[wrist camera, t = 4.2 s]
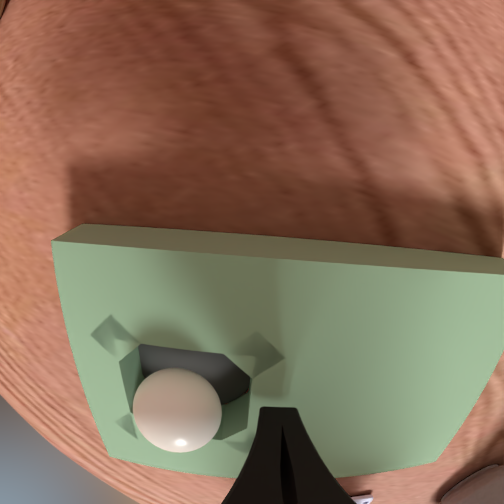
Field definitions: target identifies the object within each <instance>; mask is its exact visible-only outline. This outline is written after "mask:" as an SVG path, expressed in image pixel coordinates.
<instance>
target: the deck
mask: <svg viewBox="0 0 504 504" xmlns="http://www.w3.org/2000/svg"><path fill="white" fill-rule="evenodd" d="M51 245H52V253H53V260H54V267H55V274H56V280H57V286H58V291H59V297H60V302H61V307H62V312H63V316H64V321H65V325H66V329H67V334H68V338H69V342H70V345H71V349H72V353H73V357H74V360H75V364H76V367H77V370H78V374H79V377H80V380H81V383H82V386H83V389H84V392H85V395H86V398H87V401H88V404H89V407H90V409H91V412H92V415H93V418H94V420H95V423H96V425H97V428H98V430H99V433H100V435H101V438H102V440H103V442H104V445H105V447H106V449H107V452H108V454H109V456H110V457H114V458H117V459H121V460H125V461H129V462H133V463H138V464H142V465H147V466H151V467H156V468H161V469H167V470H173V471H179V472H185V473H192V474H199V475H207V476H216V477H227V478H237V477H238V475H239V473H240V471H241V469H242V467H243V465H244V463H245V461H246V459H247V456H248V454H249V452H250V449H251V446H252V443H253V440H254V438H255V435H256V430H257V423H258V417H259V410H260V408H261V407H263V406H267V407H296V408H297V409H298V412H299V415H300V417H301V420H302V422H303V424H304V427H305V429H306V431H307V433H308V435H309V437H310V439H311V441H312V443H313V445H314V446H315V448H316V450H317V452H318V454H319V455H320V457H321V459H322V460H323V462H324V463H325V465H326V466H327V468H328V469H329V471H330V472H331V474H332V475H333V477H334V478H340V477H350V476H359V475H367V474H374V473H381V472H387V471H393V470H399V469H404V468H409V467H414V466H419V465H423V464H427V463H432V462H435V461H436V460H437V459H438V457H439V456H440V455H441V453H442V452H443V451H444V449H445V448H446V447H447V445H448V444H449V443H450V441H451V440H452V438H453V437H454V436H455V434H456V433H457V431H458V430H459V428H460V427H461V425H462V424H463V422H464V421H465V419H466V418H467V416H468V414H469V413H470V411H471V410H472V408H473V406H474V405H475V403H476V401H477V400H478V398H479V396H480V395H481V393H482V391H483V389H484V387H485V386H486V384H487V382H488V380H489V378H490V376H491V375H492V373H493V371H494V369H495V367H496V365H497V363H498V361H499V359H500V357H501V355H502V353H503V350H504V259H503V258H498V257H489V256H480V255H471V254H462V253H452V252H442V251H433V250H423V249H413V248H402V247H392V246H381V245H370V244H359V243H348V242H337V241H325V240H314V239H302V238H289V237H277V236H264V235H251V234H238V233H224V232H211V231H196V230H182V229H167V228H151V227H135V226H118V225H101V224H81V225H79V226H77V227H75V228H73V229H72V230H70V231H68V232H66V233H64V234H62V235H60V236H59V237H57V238H55V239H53V240H51ZM166 368H183V369H188V370H190V371H193V372H195V373H197V374H199V375H201V376H202V377H204V378H205V379H206V380H207V381H208V382H209V383H210V384H211V385H212V386H213V388H214V389H215V391H216V392H217V394H218V397H219V399H220V403H221V407H222V418H221V423H220V426H219V429H218V431H217V432H216V434H215V436H214V437H213V438H212V439H211V440H210V441H209V442H208V443H207V444H205V445H204V446H202V447H201V448H199V449H196V450H194V451H189V452H182V453H179V452H170V451H166V450H163V449H161V448H159V447H157V446H155V445H153V444H152V443H151V442H149V441H148V440H147V439H146V438H145V437H144V436H143V435H142V433H141V432H140V430H139V429H138V427H137V425H136V423H135V419H134V416H133V400H134V396H135V393H136V391H137V389H138V387H139V385H140V384H141V383H142V382H143V381H144V380H145V379H146V378H147V377H148V376H149V375H151V374H153V373H154V372H156V371H159V370H162V369H166ZM144 377H145V378H144ZM248 388H249V392H247V393H245V392H246V391H247V389H248ZM244 393H245V394H244ZM243 394H244V395H243ZM241 395H242V396H241ZM226 403H228V404H226Z"/></svg>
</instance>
